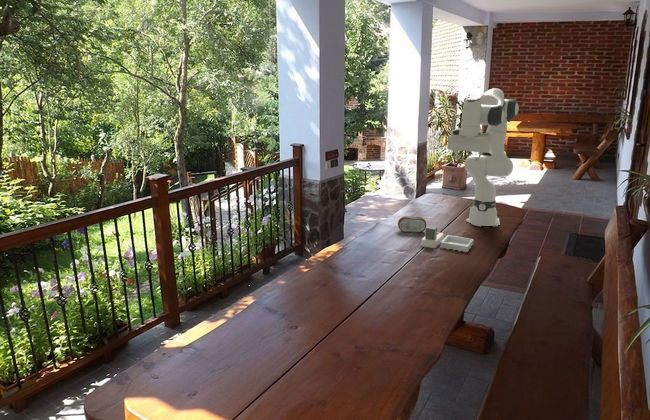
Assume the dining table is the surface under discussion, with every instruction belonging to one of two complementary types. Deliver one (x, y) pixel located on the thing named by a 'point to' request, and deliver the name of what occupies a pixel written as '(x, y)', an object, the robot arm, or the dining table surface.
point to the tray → (456, 243)
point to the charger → (431, 233)
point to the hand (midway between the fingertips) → (467, 160)
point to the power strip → (432, 241)
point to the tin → (412, 224)
